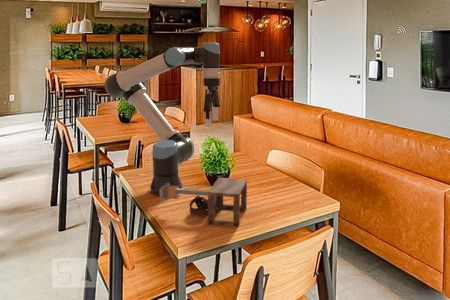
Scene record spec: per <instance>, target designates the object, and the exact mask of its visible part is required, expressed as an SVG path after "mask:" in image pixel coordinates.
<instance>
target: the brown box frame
mask: <svg viewBox="0 0 450 300" xmlns="http://www.w3.org/2000/svg"><path fill="white" fill-rule="evenodd" d="M159 191H160V196H159V201H165V200H166V199H170V200H171V199H172V200H178V199H179V198H180V195H181V194H182V195H193V196H202V197H204V196H205V197H208V191H209V190H203V189H190V188H182V189H181V188H179V186H171V185H170V183H165V184H164V185H163V186H162V187H161V188H160V189H159ZM217 209H218V196H214V214H216V212H217Z"/></svg>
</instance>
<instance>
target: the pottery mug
mask: <svg viewBox="0 0 450 300" xmlns="http://www.w3.org/2000/svg"><path fill="white" fill-rule="evenodd" d="M194 203H195V205H196V207H197V208H196V207H195V208H194V207H192V206H193V204H194ZM206 210H207V211H208V198H205V197H204V196H201V195H195V197H193V199H191V200H190V202H189V215H190V216H192V215H199V214H202V213H207V211H206Z"/></svg>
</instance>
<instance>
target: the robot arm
mask: <svg viewBox="0 0 450 300" xmlns="http://www.w3.org/2000/svg"><path fill="white" fill-rule="evenodd" d="M220 51H221V49H220V43H218V42H203V44H202V46H179V47H178V46H174V47H170V48H168V49H167V50H166V51H165V52H163V53H162V54H159V55H157V56H155V57H153V58H150V59H149V60H148V59H147V60H146V61H144V62H142V63H140V64H138V65H135V66H132V67H131V68H129V69H127V70H125V71H123V70H120V71H117V72H115V73H112V74H110V75H108V76H107V77H106V78H105V81H104V89H105V92H106V93H107V94H108V95H109V96H110V97H112V98H114V99H115V98H116V99H119V98H120V99H121V98H123V99H124V100H125V101H126V103H127V104H130V105H131V104H132V106H134V108H135V109H136V111H137V112H138V113H139V114H140V116H141V117H142V118H143V119H144V121H145V123H146V124H147V125H148V126H149V127H150V129H151V130H152V131H153V133H154V134H155V135H156V137H157V138H158V139H159V141H157V142H155V143H154V144H153V145H152V151H151V154H152V169H153V170H152V172H153V173H152V174H153V177H152V180H151V183H150V188H149V190H150V191H151V192H152V193H153V194H152V193H151V192H150V193H151V194H152V195H154V194H156V195H155V196H158V195H160V191H159V189H160V188H161V187H162V186H163V185H164V184H165V183H170V185H171V186H179V188H181V189H183V184H182V181H181V179H180V176H179V165H180V164H182V163H184V162H187V161H188V160H190V159H191V158H192V157H193V155H194V154H195V145H194V142H193V140H192V139H191V138H189V137H187V136H184V135H183V134H182V133H181V132H180V131H178V130H175V129H174V127H173V126H172V125H171V124H170V122H169V121H168V119H166V117H165V116H164V115H163V113H162V112H161V111H160V109H158V106H157V105H155V103H154V102H153V100H152V99H151V98H150V97H149V95H148V94H147V88H146V83H145V81H147V80H150V79H152V78H154V77H157V76H158V75H161V74H163V73H165V72H168V71H169V70H172V69H174V68H177V67H179V66H182V65H183V66H184V65H196V64H197V65H203V68H202V71H203V73H202V75H203V82H202V83H203V87H207V88H206V89H205V90H204V93H205V94H204V95H205V96H204V101H203V103H204V104H203V109H202V112H203V113H204V125H205V126H206V127H212V121H217V122H218V121H219V108H221V104H220V97H219V89H218V88H219V86H220V85H221V80H220V79H221V78H220V74H221V72H222V70H221V67H220V66H221V64H220V62H221V60H220V59H221V58H220V57H221V52H220Z"/></svg>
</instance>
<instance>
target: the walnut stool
mask: <svg viewBox="0 0 450 300" xmlns="http://www.w3.org/2000/svg"><path fill="white" fill-rule="evenodd" d="M247 186H248V179H245V178H243V179H241V178H230V177H229V178H228V177H217V179H216V181H215V182H214V183H213V185H212V186H211V187H210V189H208V190H207V191H208V196H207V200H208V209H207V224H208V225H214V226H226V227H235V228H237V227H240V221H241V220H240V217H241V216H240V212H241V211H244V212H246V211H247V205H248V204H247V201H248V200H247V199H248V197H247V195H248V194H247V192H248V187H247ZM214 196H218V208H217V209H220V210H222V209H227V210H228V209H229V210H233V213H232V215H233V221H228V220H221V219H219V220H218V219H215V213H214ZM224 197H228V198H233V204H227V203H224Z"/></svg>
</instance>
